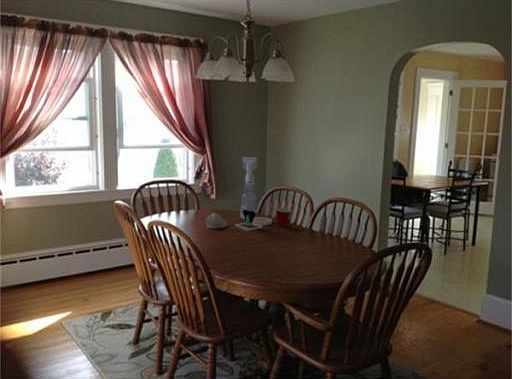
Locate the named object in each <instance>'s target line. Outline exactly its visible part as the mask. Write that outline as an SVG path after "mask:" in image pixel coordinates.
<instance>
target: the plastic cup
mask: <svg viewBox="0 0 512 379" xmlns="http://www.w3.org/2000/svg"><path fill="white" fill-rule="evenodd" d="M274 210H275V214H276V215H275V216H276V221H277V222H276V223H277V227H281V228H285V227H287V226H288V224H289V218H290V215H291V212H292V209H289V208H285V207H275V208H274Z"/></svg>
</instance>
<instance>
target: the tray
mask: <svg viewBox="0 0 512 379" xmlns="http://www.w3.org/2000/svg"><path fill="white" fill-rule="evenodd" d="M244 225H246V222H242V223H236V224H235V223H234V228H236V229H240V230H242V231H246V232H250V231H252V230H253V231H254V230H258V229H262V228H264V225H258V224H254V223H252V225H251V226H254V227H245V226H244Z"/></svg>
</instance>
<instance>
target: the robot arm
mask: <svg viewBox="0 0 512 379" xmlns="http://www.w3.org/2000/svg"><path fill="white" fill-rule="evenodd" d="M257 167H258V158H257V157H247V156H243V157H242V169H244V170H245V171H246V173H245V178H244V180H245V183H244V194H242V196H241V206H240V214H239V215H240V219H243V220H244V221H245V222H246V215H249V221H250V223H253V220H254V217H255V216H256V215H257V213H258V212H259V210H258V209H257V208H255V207H256V206H257V196H256V194H255V191H256V184H255V176H254V174H253V172H254V170H257Z"/></svg>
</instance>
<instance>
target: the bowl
mask: <svg viewBox="0 0 512 379" xmlns="http://www.w3.org/2000/svg"><path fill="white" fill-rule="evenodd" d="M253 223H254V224H258V225H261V226H268V225H271V224H273V219H272V218H269V217H264V216H256V217H254V220H253Z"/></svg>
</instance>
